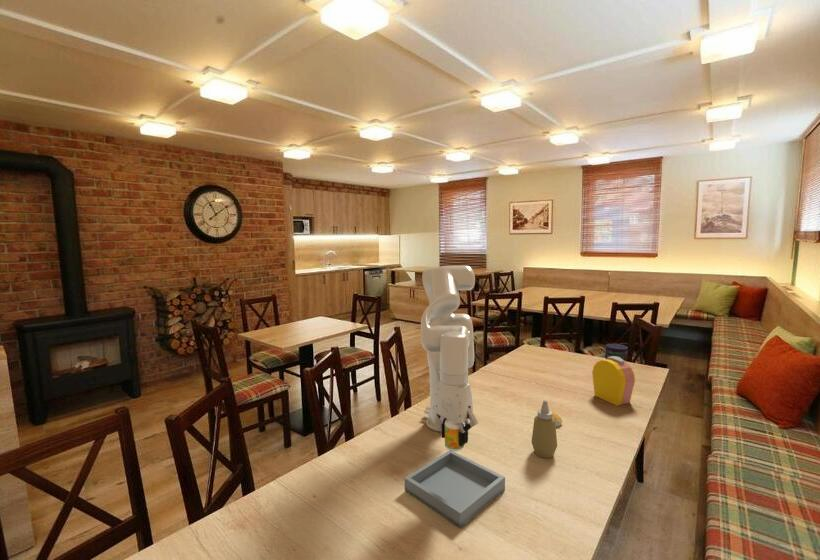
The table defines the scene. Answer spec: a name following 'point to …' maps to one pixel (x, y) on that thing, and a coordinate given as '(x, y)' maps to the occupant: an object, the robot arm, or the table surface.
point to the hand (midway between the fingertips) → (454, 439)
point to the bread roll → (557, 419)
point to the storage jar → (616, 351)
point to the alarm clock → (613, 380)
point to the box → (455, 487)
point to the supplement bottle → (452, 435)
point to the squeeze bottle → (544, 432)
